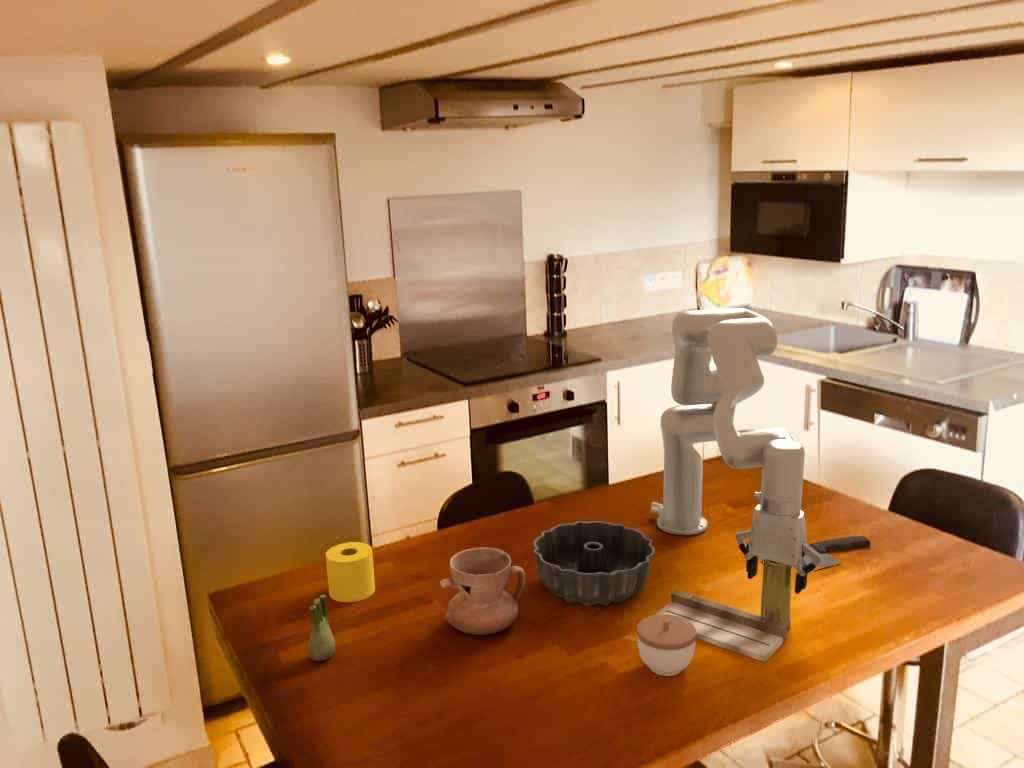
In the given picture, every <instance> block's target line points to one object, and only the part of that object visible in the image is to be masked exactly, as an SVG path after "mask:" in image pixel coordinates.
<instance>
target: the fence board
mask: <svg viewBox="0 0 1024 768" xmlns="http://www.w3.org/2000/svg"><path fill="white" fill-rule="evenodd" d="M670 597H671V598H670V602H669V603H667V604H666V605H665V606H663V607H662V608H661V609H660V610H659V611H657V612H656V613H655V614H654V615H660V614H665V615H674V616H678V617H681V618H684V619H686V620H688V621H689V622H691V623H692V624H693V625H694V627H695V629H696V639H697V640H699V641H700V640H701V641H703V642H706V643H708V644H712V645H714V646H717V647H720V648H722V649H726V650H729V651H732V652H735V653H738V654H740V655H743V656H745V657H748V658H751V659H755V660H757V661H760V662H764V663H766V662H768V660H769V659H770V658H771V657H772V655H773V654H775V652H777V650H778V649H779V648H780V647H781V646H782V645H783V643H785V641H787V638H788V629H787V625H786V624H783V623H779V622H776V621H773V620H770V619H769V618H767V617H766V618H764V617H760V615H757V614H753V613H751V612H748V611H744V610H740V609H737V608H734V607H731V606H728V605H726V604H722V603H720V602H715V601H712V600H709V599H707V598H704V597H700V596H697V595H695V594H693V593H691V594H690V593H686V592H683V591H680V590H677V589H675V590H673V591H672V593H671V595H670Z"/></svg>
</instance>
